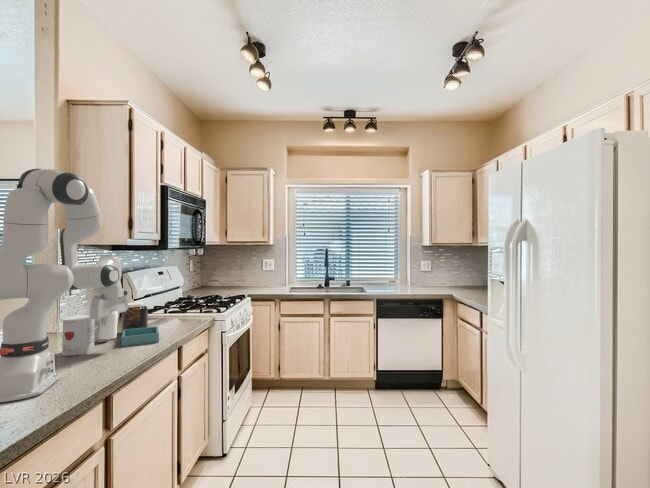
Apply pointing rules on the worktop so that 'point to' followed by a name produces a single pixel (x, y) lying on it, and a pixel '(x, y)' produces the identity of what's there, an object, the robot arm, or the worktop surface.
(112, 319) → the can
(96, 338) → the perfume bottle
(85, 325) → the supplement box
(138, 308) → the jar
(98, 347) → the worktop surface
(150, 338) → the bin
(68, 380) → the worktop surface
